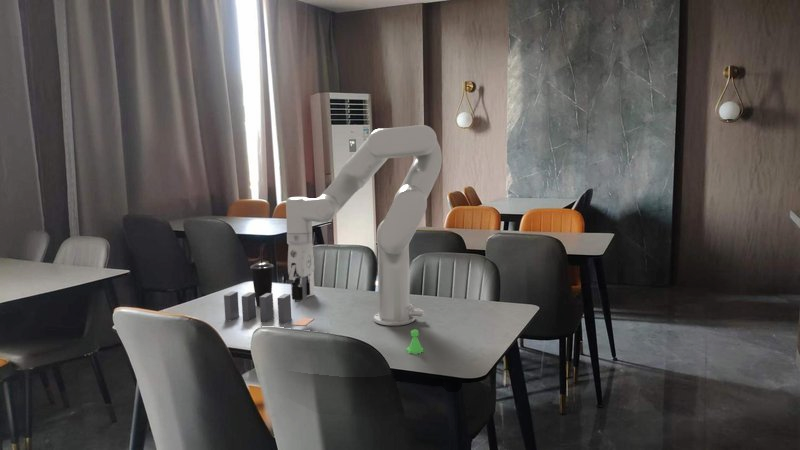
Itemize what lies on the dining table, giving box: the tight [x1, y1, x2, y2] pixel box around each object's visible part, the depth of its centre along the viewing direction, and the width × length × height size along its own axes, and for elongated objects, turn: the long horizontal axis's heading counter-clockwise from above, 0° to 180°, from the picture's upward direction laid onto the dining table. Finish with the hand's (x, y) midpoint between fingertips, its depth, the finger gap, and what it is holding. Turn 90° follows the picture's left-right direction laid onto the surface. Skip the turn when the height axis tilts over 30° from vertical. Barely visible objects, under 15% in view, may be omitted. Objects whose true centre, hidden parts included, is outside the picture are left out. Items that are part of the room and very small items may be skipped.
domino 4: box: [277, 293, 292, 324], centre depth 185 cm, size 2×5×8 cm, turn 166°
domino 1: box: [223, 291, 240, 321], centre depth 189 cm, size 2×5×8 cm, turn 166°
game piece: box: [406, 328, 424, 355], centre depth 156 cm, size 4×4×6 cm
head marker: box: [292, 317, 314, 327], centre depth 184 cm, size 4×7×1 cm, turn 167°
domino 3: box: [259, 292, 275, 324], centre depth 186 cm, size 2×5×8 cm, turn 166°
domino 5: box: [294, 275, 308, 303], centre depth 183 cm, size 2×5×8 cm, turn 166°
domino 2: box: [241, 291, 257, 323], centre depth 188 cm, size 2×5×8 cm, turn 166°
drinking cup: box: [250, 246, 274, 308], centre depth 203 cm, size 8×8×20 cm
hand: (301, 296), depth 183 cm, fingers closed on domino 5, 4 cm apart
